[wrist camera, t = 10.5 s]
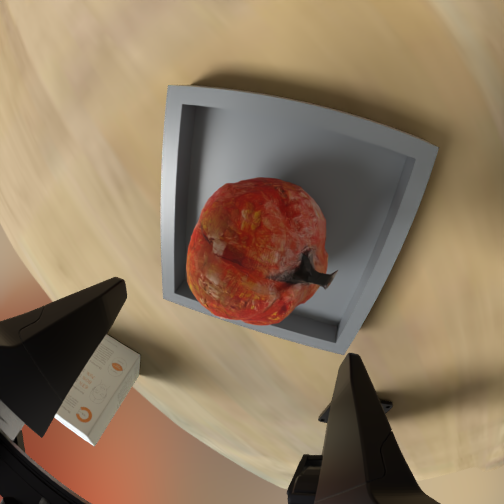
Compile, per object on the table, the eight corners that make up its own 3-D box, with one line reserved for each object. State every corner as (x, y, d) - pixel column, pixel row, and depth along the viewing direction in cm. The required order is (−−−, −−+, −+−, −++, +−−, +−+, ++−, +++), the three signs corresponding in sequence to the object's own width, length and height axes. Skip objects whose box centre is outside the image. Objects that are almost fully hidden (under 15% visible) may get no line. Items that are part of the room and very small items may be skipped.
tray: (345, 330, 21) (343, 355, 19) (178, 280, 23) (163, 298, 21) (424, 139, 13) (439, 147, 11) (189, 84, 15) (168, 85, 13)
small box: (94, 346, 36) (45, 410, 25) (90, 321, 32) (31, 393, 21) (140, 376, 35) (94, 447, 25) (142, 354, 32) (87, 437, 21)
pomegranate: (249, 260, 22) (356, 331, 15) (158, 287, 18) (250, 397, 11) (255, 161, 19) (390, 200, 12) (149, 170, 15) (265, 225, 8)
